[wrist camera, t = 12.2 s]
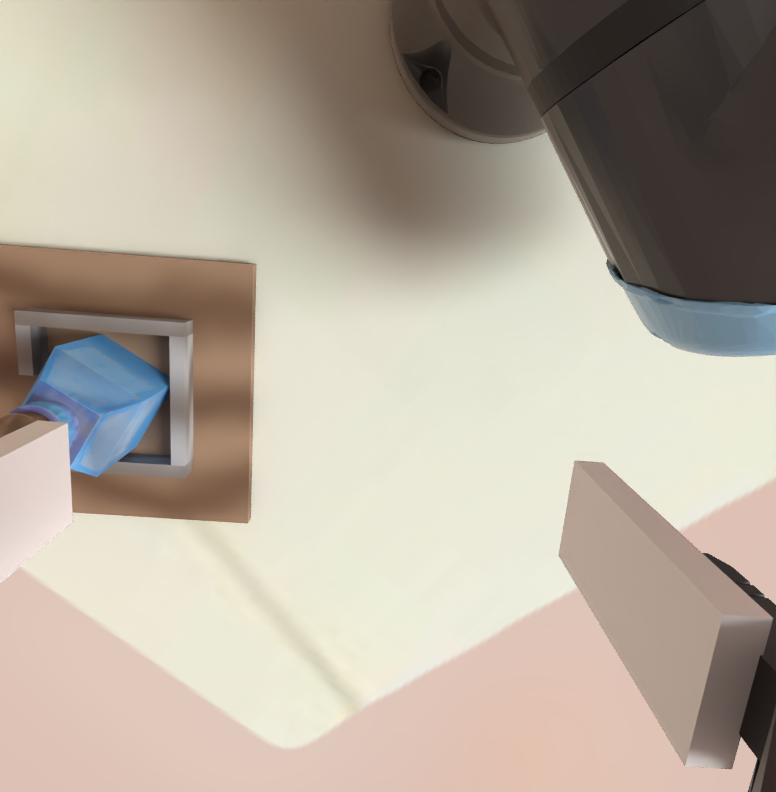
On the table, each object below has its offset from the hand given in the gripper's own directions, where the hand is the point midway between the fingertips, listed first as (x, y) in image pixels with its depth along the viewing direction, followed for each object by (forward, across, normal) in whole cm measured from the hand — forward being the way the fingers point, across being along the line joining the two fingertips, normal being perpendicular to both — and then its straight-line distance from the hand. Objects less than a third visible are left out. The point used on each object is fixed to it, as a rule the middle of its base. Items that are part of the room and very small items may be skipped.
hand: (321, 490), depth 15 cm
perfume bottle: (+28, -18, -5) cm, 33 cm away
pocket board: (+28, -18, -5) cm, 34 cm away
